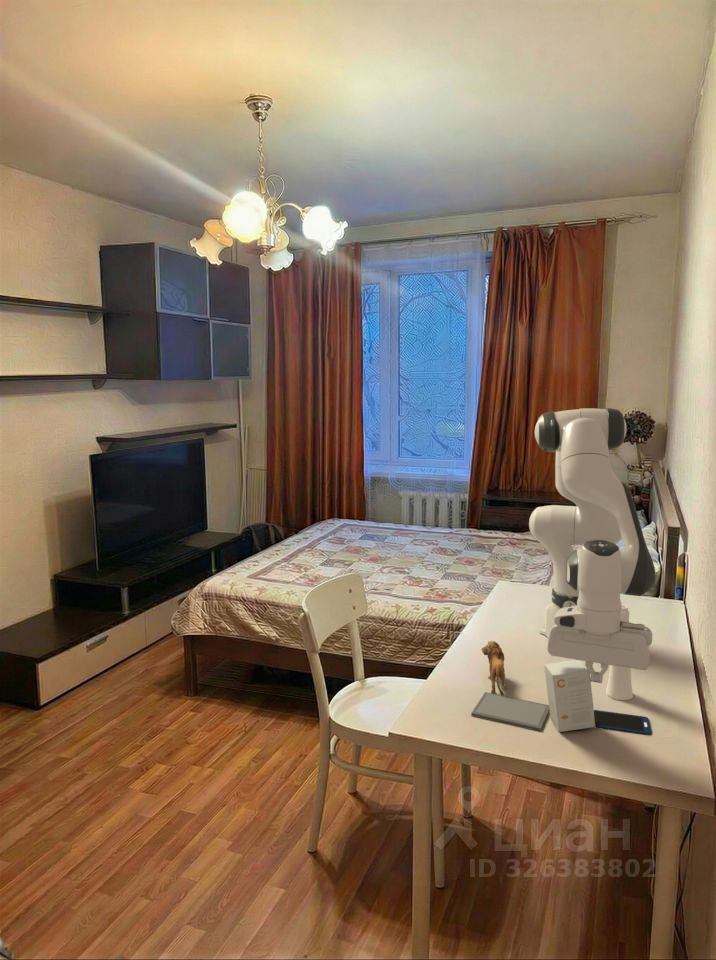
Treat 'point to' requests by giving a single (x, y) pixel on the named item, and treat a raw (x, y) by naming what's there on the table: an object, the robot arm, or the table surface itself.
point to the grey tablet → (511, 711)
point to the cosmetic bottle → (620, 674)
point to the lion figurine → (495, 664)
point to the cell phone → (622, 722)
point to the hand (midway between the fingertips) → (596, 681)
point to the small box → (569, 695)
